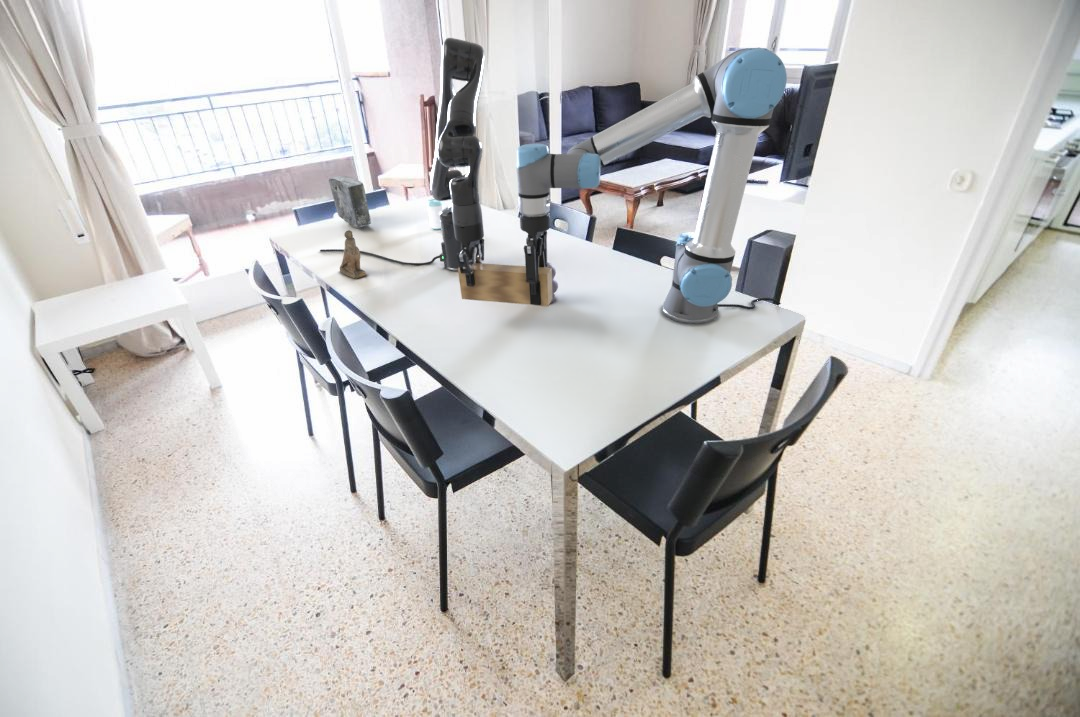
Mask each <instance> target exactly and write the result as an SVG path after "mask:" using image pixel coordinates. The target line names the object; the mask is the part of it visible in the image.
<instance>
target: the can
mask: <svg viewBox="0 0 1080 717" xmlns="http://www.w3.org/2000/svg"><path fill="white" fill-rule="evenodd" d="M426 207H427V211H428V212H427V213H428V219H429V226H430V228H431V229H433V230H442V229H441V223H440V212H441V211H442V210H443V209H445V205H444V201H437V200H435V199H434V198H432V199H428V201H427V204H426Z"/></svg>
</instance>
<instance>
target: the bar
mask: <svg viewBox="0 0 1080 717" xmlns="http://www.w3.org/2000/svg"><path fill="white" fill-rule="evenodd" d="M469 265H470V264H469ZM457 273H458V280H459V288H460V296H461V297H460V298H461V300H470V301H480V302H493V303H505V304H507V303H508V304H518V305H529V306H532V305H531V304H530V286H529V283H527V282H526V265H513V264H499V263H498V264H497V263H484V262H482V263H476V264H475V265H474V279H475V286H473V287H471V286H467V284H466V276H465V274H461V272H460V268H458V271H457ZM539 281H540V291H541V305H539V306H542V307H549V306H550V304H551V303H552V302H551V301H552V299H553V296H552V268H546V267H539ZM550 302H551V303H550Z"/></svg>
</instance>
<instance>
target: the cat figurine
mask: <svg viewBox="0 0 1080 717" xmlns="http://www.w3.org/2000/svg"><path fill="white" fill-rule="evenodd" d="M547 264H548V266H547V268H552V296H553V299H552V301H551V302H550V304H551V303H553V302H554V301H555V300H556V298H555V297H556V292H557V291H558V289H559V283H558V281H557V279H556V278H555V276H556V273H557V272H556V267H555V266H554V265H553V264H552V263H550V262H548V261H547Z"/></svg>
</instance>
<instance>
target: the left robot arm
mask: <svg viewBox="0 0 1080 717" xmlns="http://www.w3.org/2000/svg"><path fill="white" fill-rule="evenodd" d="M440 57H441V58H440V90H439V104H438V113H437V121H436V132H435V147H434V148H435V149H434V157H433V163H432V167H431V173H430V181H429V188H430V193H431V195H432V197H433V198H432V199H435V200H437V201H442V202H447V201H451V202H450V203H449V204H448V205H447V206H446V207H444V209H443V210H442V211H441V212H440V223H441V229H440V230H441V235H442V242H441V243H440V246H441V250H442V251H441V253H440V254H439V255H436V256H434V257H433V258H432V259H431V260H430V261H427V262H406V261H405V262H404V261H400V260H397V259H393V258H389V257H386V256H383V255H379V254H376V253H372V252H368V251H364V250H359V251H360V254H363V255H366V256H367V255H368V256H372V257H375V258H378V259H381V260H386V261H389V262H392V263H396V264H400V265H403V266H404V265H405V266H426V265H431V264H433V263H434V262H435V261H436V260H437V259H439V262H443V267H444V269H445V270H449V271H454V272H458V268H460V272H461V274H465V276H466V284H467V286H471V287H473V286H475V279H474V265H475V264H476V263H483V262H484V261H485V239H484V237H485V232H484V220H483V211H482V206H481V201H480V190H479V175H480V167H481V162H482V157H483V145H482V142H481V140H480V138H479V137H477V135H475V134H476V129H477V109H478V103H479V99H480V94H481V88H482V83H483V77H484V70H485V60H486V59H485V58H486V56H485V49H484V48H483V46H482V45H481V44H479V43H476V42H473V41H472V42H471V41H467V40H464V39H459V38H455V37H447V38H446V39H445V40H444V41H443V44H442V47H441V56H440ZM454 80H455V81H460V82H466V84H465V85H464V86H462V87H461V88H460V89H459V90H458V91H457V92H456V89H455V85H454ZM450 168H468V172H466V174H463V173H462V172H461V170H459V169H450ZM344 249H345V248H344ZM344 249H341V248H338V249H337V248H334V249H332V248H331V249H329V248H328V249H319V252H320V253H325V252H326V253H327V252H328V253H329V252H340V253H341V252H342V253H344ZM469 264H470V265H469Z"/></svg>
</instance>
